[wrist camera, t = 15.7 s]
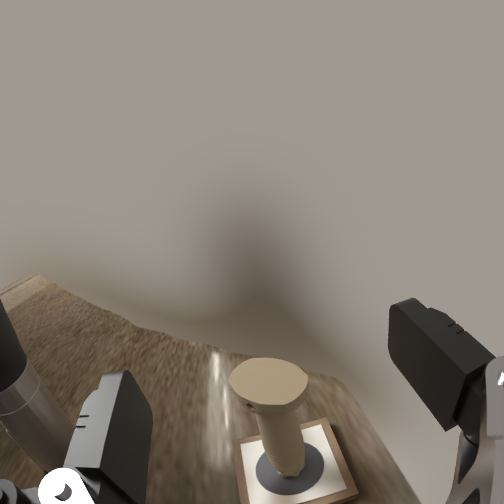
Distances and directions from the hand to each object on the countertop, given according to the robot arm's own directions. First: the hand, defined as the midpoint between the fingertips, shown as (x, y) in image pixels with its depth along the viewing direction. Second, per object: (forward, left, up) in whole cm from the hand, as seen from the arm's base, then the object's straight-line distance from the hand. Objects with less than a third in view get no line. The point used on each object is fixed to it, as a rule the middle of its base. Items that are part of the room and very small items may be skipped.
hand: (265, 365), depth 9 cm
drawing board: (0, +11, -28) cm, 30 cm away
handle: (0, +11, -26) cm, 29 cm away
